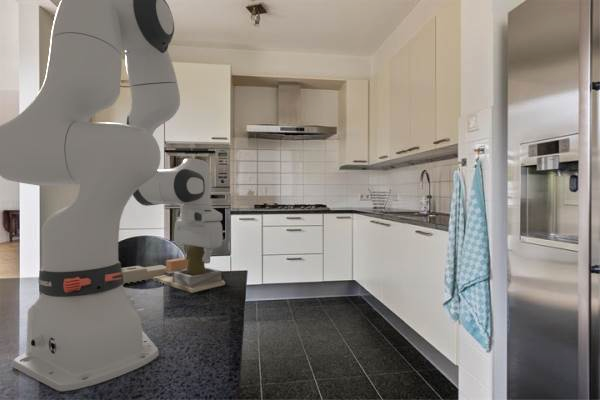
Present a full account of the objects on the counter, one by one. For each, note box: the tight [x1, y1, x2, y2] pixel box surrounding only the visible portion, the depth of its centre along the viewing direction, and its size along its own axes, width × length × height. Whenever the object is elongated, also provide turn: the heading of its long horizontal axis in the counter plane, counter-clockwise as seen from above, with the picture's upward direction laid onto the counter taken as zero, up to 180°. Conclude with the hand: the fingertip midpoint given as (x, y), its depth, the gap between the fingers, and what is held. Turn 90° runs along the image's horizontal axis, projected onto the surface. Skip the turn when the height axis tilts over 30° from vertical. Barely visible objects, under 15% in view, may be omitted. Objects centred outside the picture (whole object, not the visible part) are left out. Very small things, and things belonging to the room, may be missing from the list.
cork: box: [186, 245, 206, 276], centre depth 100 cm, size 6×6×11 cm
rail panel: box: [152, 267, 226, 294], centre depth 103 cm, size 22×11×4 cm, turn 50°
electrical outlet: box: [121, 264, 168, 285], centre depth 108 cm, size 7×4×18 cm
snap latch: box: [165, 257, 188, 271], centre depth 107 cm, size 3×6×3 cm, turn 140°
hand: (197, 261), depth 100 cm, fingers open, 8 cm apart
